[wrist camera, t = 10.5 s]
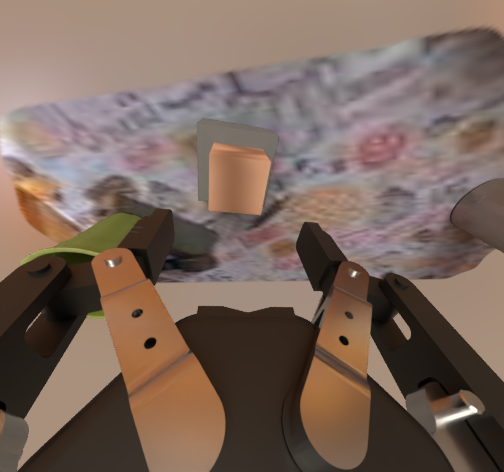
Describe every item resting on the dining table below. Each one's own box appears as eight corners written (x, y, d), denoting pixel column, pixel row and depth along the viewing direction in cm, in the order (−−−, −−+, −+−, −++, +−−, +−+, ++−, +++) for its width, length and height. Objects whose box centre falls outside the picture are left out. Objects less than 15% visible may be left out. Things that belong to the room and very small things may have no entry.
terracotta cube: (262, 149, 19) (271, 162, 15) (255, 194, 22) (260, 214, 18) (213, 142, 19) (209, 154, 15) (212, 189, 21) (208, 210, 17)
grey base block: (270, 129, 23) (278, 135, 19) (259, 191, 27) (264, 206, 23) (203, 118, 22) (196, 122, 17) (203, 184, 26) (198, 200, 22)
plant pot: (153, 268, 34) (125, 328, 25) (78, 237, 29) (10, 299, 20) (185, 225, 30) (165, 280, 21) (102, 180, 25) (27, 226, 15)
